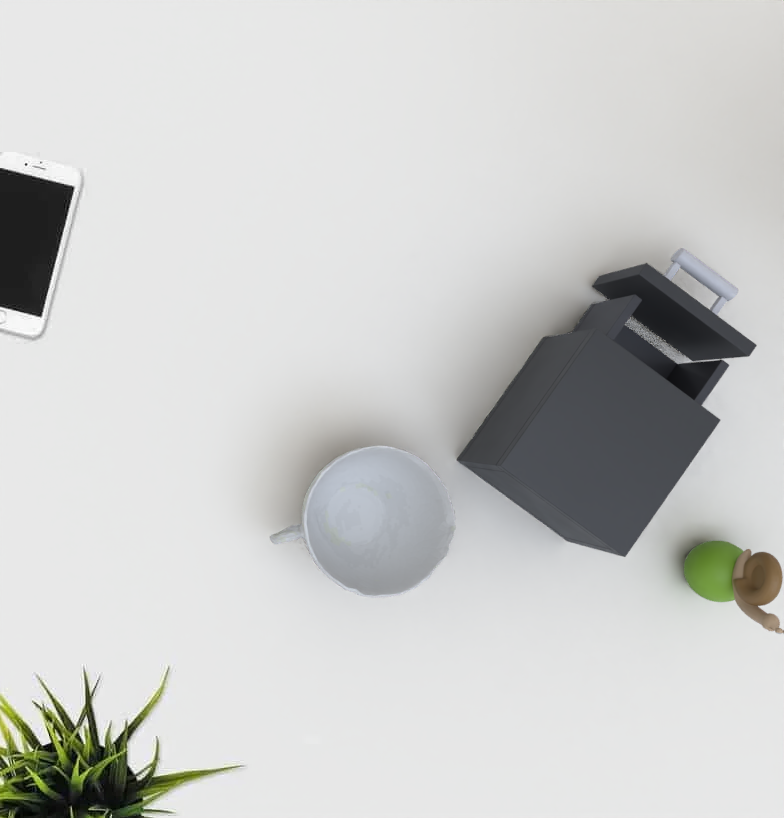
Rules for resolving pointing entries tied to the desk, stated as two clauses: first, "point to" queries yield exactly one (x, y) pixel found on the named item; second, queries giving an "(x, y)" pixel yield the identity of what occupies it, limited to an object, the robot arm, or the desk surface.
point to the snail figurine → (736, 578)
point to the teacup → (375, 521)
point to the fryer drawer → (670, 321)
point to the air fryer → (589, 440)
